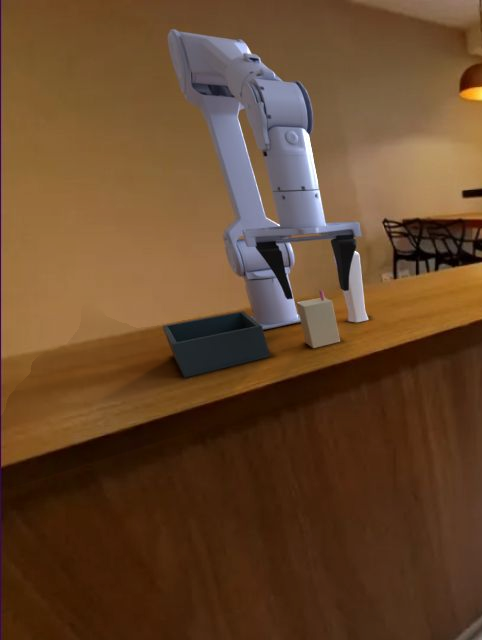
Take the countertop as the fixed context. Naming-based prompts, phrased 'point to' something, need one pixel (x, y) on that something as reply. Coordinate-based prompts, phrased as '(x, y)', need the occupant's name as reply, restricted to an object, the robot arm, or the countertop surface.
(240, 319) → the bin
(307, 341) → the juice carton
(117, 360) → the countertop surface
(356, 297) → the perfume bottle
